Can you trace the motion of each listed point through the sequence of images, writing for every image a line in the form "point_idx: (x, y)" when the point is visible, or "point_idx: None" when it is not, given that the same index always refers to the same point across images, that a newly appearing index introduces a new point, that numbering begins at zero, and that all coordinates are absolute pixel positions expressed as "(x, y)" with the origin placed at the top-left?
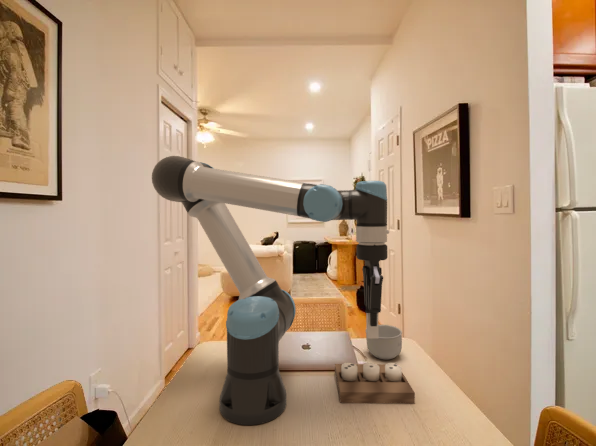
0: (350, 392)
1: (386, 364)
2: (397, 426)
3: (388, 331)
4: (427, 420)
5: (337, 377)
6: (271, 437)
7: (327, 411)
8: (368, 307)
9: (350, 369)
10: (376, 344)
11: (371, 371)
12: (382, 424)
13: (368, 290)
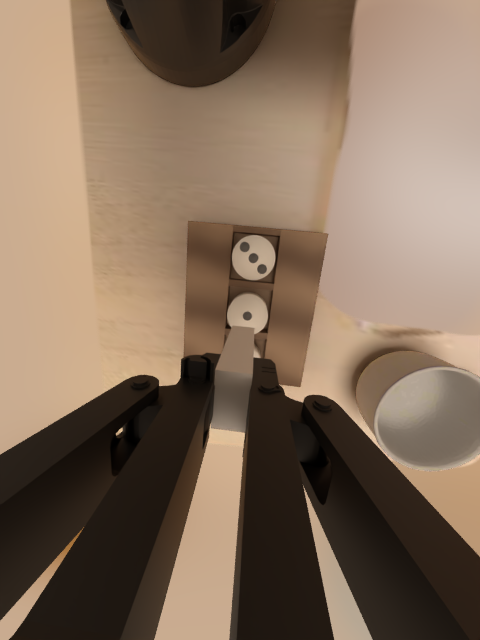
0: (188, 244)
1: (254, 355)
2: (127, 310)
3: (458, 437)
4: (144, 362)
5: (256, 227)
6: (82, 52)
7: (166, 190)
8: (188, 390)
9: (235, 256)
10: (383, 373)
11: (228, 309)
12: (131, 287)
13: (107, 532)
